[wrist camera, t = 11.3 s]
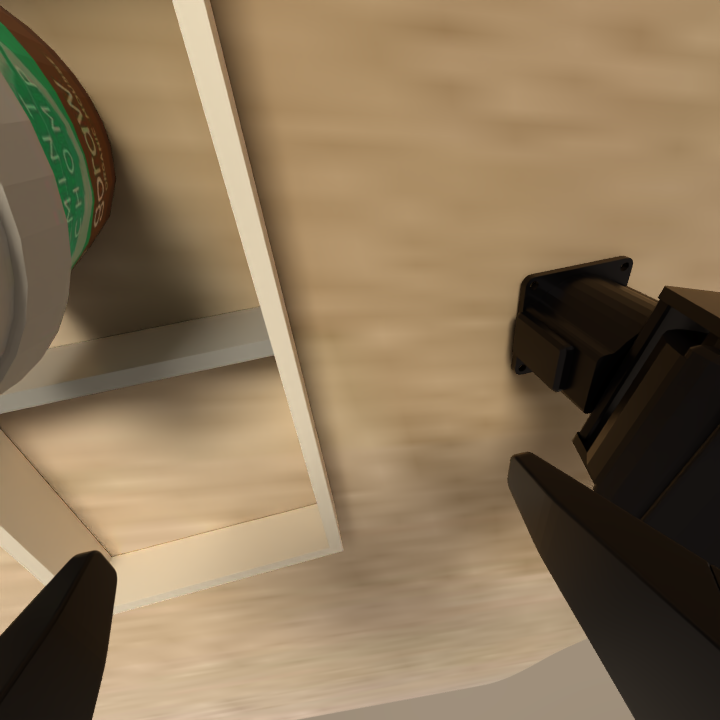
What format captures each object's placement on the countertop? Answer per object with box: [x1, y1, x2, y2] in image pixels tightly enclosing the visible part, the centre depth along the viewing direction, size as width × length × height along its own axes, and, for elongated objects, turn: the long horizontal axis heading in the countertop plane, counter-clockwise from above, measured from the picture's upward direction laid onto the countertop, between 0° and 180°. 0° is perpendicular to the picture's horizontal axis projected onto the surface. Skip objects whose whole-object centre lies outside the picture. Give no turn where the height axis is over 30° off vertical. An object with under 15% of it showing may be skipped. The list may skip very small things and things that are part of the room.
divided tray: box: [0, 0, 343, 615], centre depth 17 cm, size 16×32×4 cm, turn 7°
